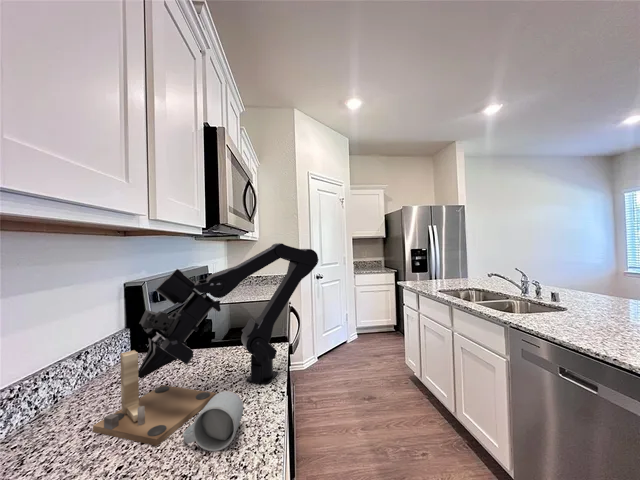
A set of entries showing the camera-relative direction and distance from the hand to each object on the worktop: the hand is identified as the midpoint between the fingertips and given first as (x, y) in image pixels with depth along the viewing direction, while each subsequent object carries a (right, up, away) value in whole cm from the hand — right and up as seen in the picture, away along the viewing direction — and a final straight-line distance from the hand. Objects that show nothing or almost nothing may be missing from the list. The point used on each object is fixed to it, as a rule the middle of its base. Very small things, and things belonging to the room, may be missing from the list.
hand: (138, 376), depth 63 cm
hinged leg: (0, -7, -2) cm, 7 cm away
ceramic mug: (+20, -8, -9) cm, 23 cm away
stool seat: (+5, -8, 0) cm, 9 cm away
